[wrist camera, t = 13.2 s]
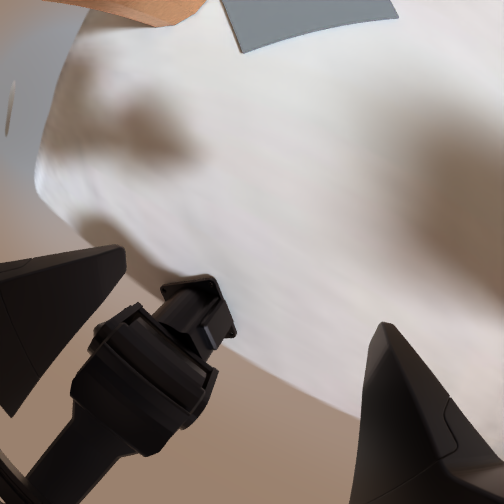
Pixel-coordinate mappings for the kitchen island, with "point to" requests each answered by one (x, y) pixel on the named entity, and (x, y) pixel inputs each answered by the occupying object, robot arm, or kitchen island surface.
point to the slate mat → (298, 17)
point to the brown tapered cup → (143, 9)
